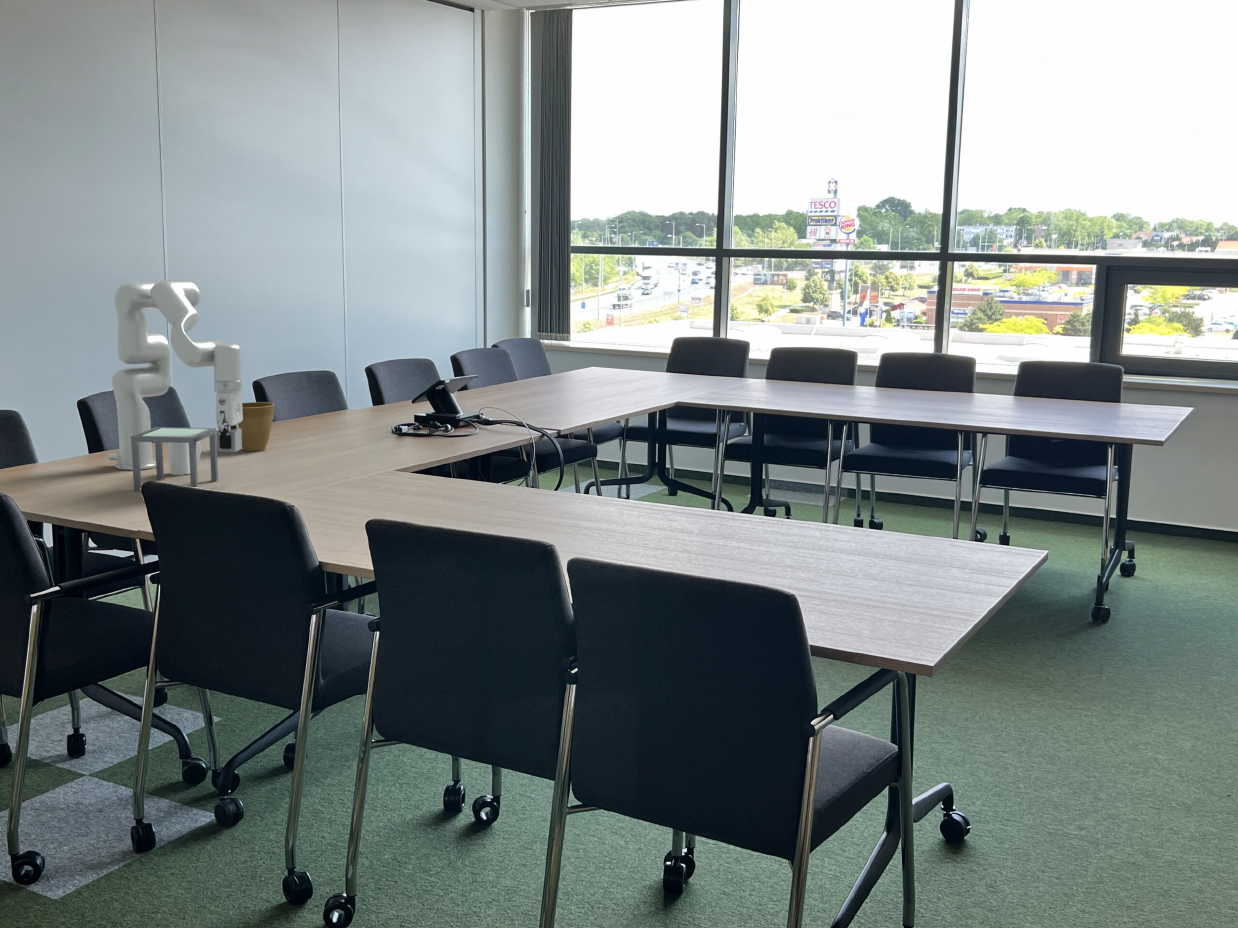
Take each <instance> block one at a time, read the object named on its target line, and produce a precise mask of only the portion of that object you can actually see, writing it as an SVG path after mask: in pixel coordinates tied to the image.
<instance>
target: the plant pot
mask: <svg viewBox="0 0 1238 928" xmlns="http://www.w3.org/2000/svg"><path fill="white" fill-rule="evenodd" d="M242 410H243V420H242V422H240V423H239V424H238V428H239V429H241V431H242V450H243V451H244V452H260V451H264V450H266V449H267V445H268V442H269V439H270V435H271V432H272V426H273V421H274V412H275V403H274V402H273V403H272V402H268V401H267V402H265V401H263V402H262V401H261V402H260V401H257V402H256V401H254V402H242Z"/></svg>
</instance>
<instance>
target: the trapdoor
mask: <svg viewBox="0 0 1238 928" xmlns="http://www.w3.org/2000/svg"><path fill="white" fill-rule="evenodd" d="M175 428H176V427H174V428H161V429H158V430H155V431H153V432H150V433H147V434H145V435H142V436H171V437H191V436H194V435H196V434H199V433H201V432H203V431H206V430H208V429H175Z"/></svg>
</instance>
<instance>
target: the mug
mask: <svg viewBox="0 0 1238 928" xmlns="http://www.w3.org/2000/svg"><path fill="white" fill-rule="evenodd" d="M167 450H168V461H169V462H168V463H169V473H170V475H171V474H172V476H185V475H184V474H188V475H190V460H189V443H169V442H167ZM201 454H202V446H201V443H200V441H197V442H196V456H197V464H198V463H199V460H200V457H201Z"/></svg>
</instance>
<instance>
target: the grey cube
mask: <svg viewBox="0 0 1238 928" xmlns="http://www.w3.org/2000/svg"><path fill="white" fill-rule="evenodd" d="M225 428H226V430H227V427H225ZM230 435H231V449H221V448H220V436H219V429H218V430H217V429H216V443H217V452H225V453H226V452H227V453H229V452H231V453H236V452H238V451H240V450H241V449H242V450H243V448H242V431H241V429H237V428H230Z"/></svg>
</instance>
